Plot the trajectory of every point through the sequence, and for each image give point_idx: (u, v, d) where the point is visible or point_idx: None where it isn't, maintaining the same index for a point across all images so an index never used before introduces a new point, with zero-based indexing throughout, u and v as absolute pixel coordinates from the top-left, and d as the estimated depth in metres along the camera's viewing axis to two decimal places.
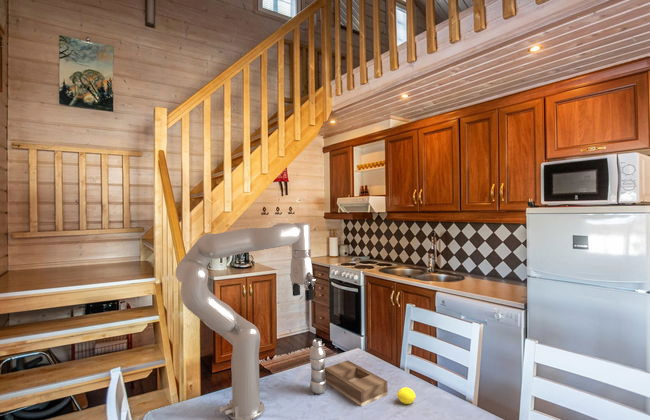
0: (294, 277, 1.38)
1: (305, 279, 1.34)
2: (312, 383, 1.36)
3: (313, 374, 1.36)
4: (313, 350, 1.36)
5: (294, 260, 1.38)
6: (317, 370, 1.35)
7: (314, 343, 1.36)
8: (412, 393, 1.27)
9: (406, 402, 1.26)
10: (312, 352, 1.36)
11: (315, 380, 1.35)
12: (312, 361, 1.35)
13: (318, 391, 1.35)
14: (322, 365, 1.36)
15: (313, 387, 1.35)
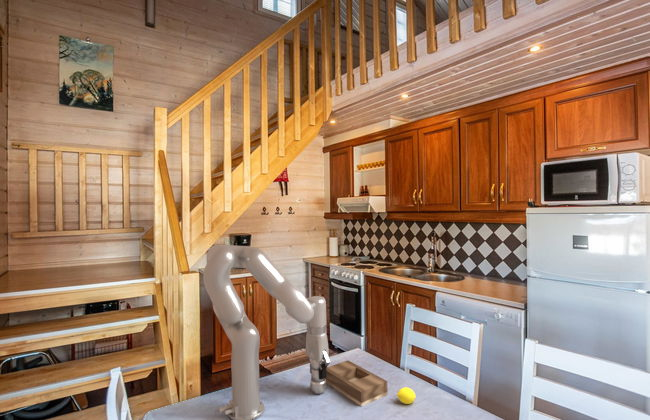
0: None
1: None
2: (312, 383, 1.36)
3: (313, 374, 1.36)
4: None
5: (310, 335, 1.37)
6: (316, 370, 1.35)
7: None
8: (412, 393, 1.27)
9: (406, 402, 1.26)
10: None
11: (315, 380, 1.35)
12: (312, 361, 1.36)
13: (318, 391, 1.35)
14: None
15: (313, 387, 1.35)
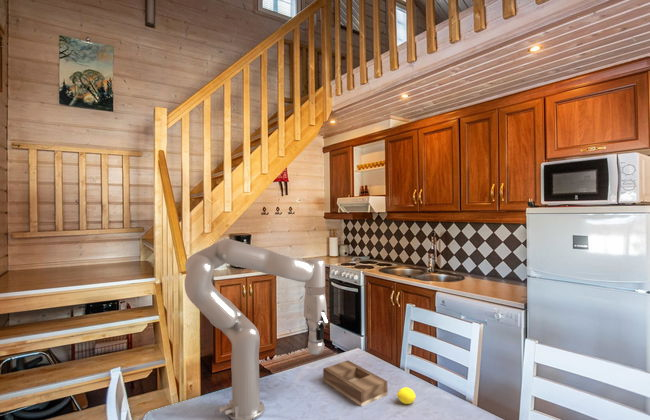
0: None
1: None
2: (310, 344, 1.36)
3: (311, 335, 1.36)
4: None
5: (308, 297, 1.37)
6: (314, 331, 1.35)
7: None
8: (412, 393, 1.27)
9: (406, 402, 1.26)
10: None
11: (313, 341, 1.35)
12: (310, 322, 1.35)
13: (316, 352, 1.34)
14: None
15: (310, 348, 1.35)
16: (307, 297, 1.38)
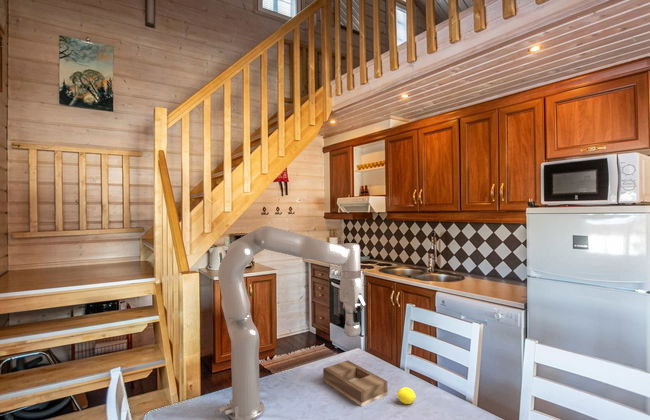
0: (344, 297, 1.40)
1: None
2: (347, 327, 1.38)
3: (348, 318, 1.38)
4: None
5: (344, 280, 1.40)
6: (351, 314, 1.38)
7: None
8: (412, 393, 1.27)
9: (406, 402, 1.26)
10: None
11: (350, 323, 1.38)
12: (347, 305, 1.38)
13: (353, 334, 1.37)
14: None
15: (348, 330, 1.38)
16: (343, 281, 1.40)
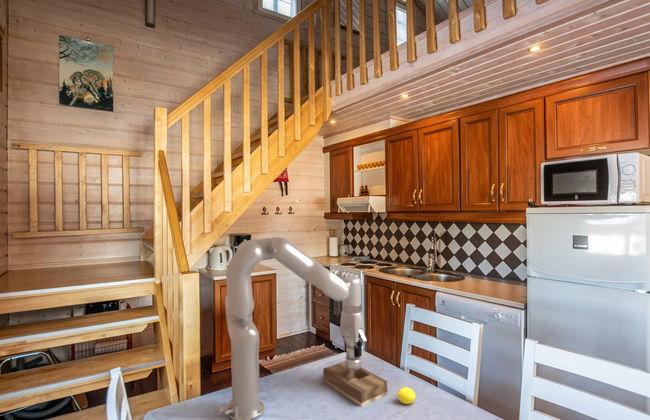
0: (345, 331, 1.40)
1: None
2: (348, 361, 1.38)
3: (349, 352, 1.38)
4: None
5: (345, 315, 1.39)
6: (352, 348, 1.38)
7: None
8: (412, 393, 1.27)
9: (406, 402, 1.26)
10: None
11: (351, 358, 1.38)
12: (347, 339, 1.38)
13: (354, 369, 1.37)
14: None
15: (349, 365, 1.38)
16: (344, 315, 1.40)
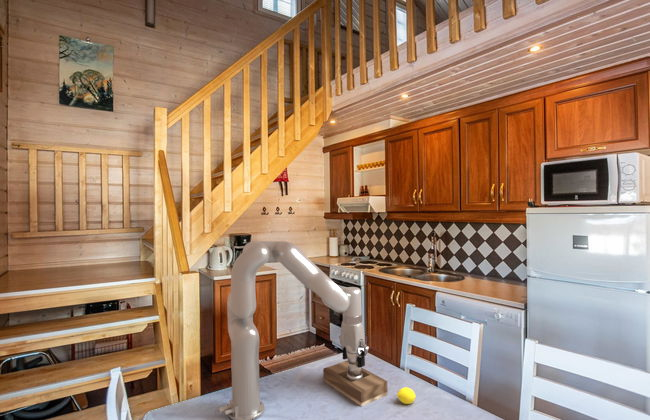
0: (345, 342, 1.40)
1: (358, 346, 1.35)
2: (349, 377, 1.37)
3: (350, 368, 1.37)
4: None
5: (345, 325, 1.40)
6: (354, 364, 1.37)
7: None
8: (412, 393, 1.27)
9: (406, 402, 1.26)
10: (349, 346, 1.38)
11: (352, 374, 1.37)
12: (349, 355, 1.37)
13: None
14: None
15: (350, 381, 1.37)
16: (344, 325, 1.40)
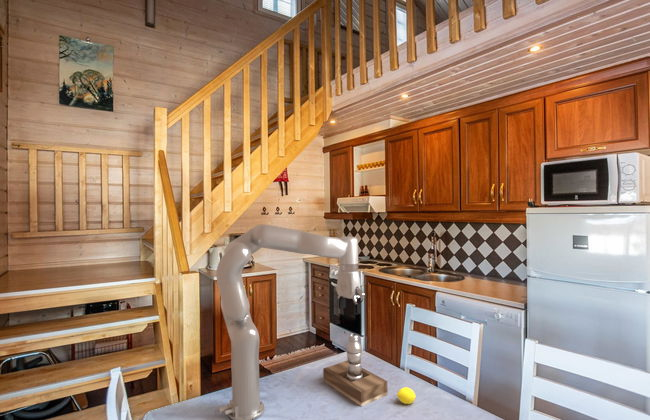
0: (341, 291, 1.40)
1: (354, 293, 1.35)
2: (349, 377, 1.37)
3: (350, 368, 1.37)
4: (350, 344, 1.38)
5: (342, 274, 1.40)
6: (354, 364, 1.37)
7: (351, 337, 1.38)
8: (412, 393, 1.27)
9: (406, 402, 1.26)
10: (349, 346, 1.38)
11: (352, 374, 1.37)
12: (349, 355, 1.37)
13: None
14: (359, 359, 1.37)
15: (350, 381, 1.37)
16: (340, 274, 1.40)
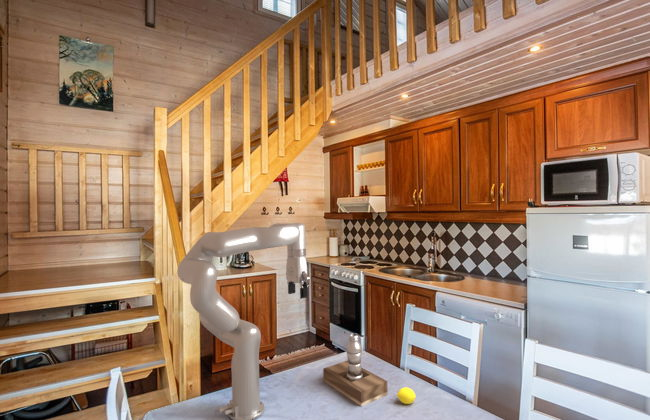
0: (289, 275, 1.43)
1: (300, 277, 1.39)
2: (349, 377, 1.37)
3: (350, 368, 1.37)
4: (350, 344, 1.38)
5: (290, 259, 1.43)
6: (354, 364, 1.37)
7: (351, 337, 1.38)
8: (412, 393, 1.27)
9: (406, 402, 1.26)
10: (349, 346, 1.38)
11: (352, 374, 1.37)
12: (349, 355, 1.37)
13: None
14: (359, 359, 1.37)
15: (350, 381, 1.37)
16: (289, 260, 1.44)
